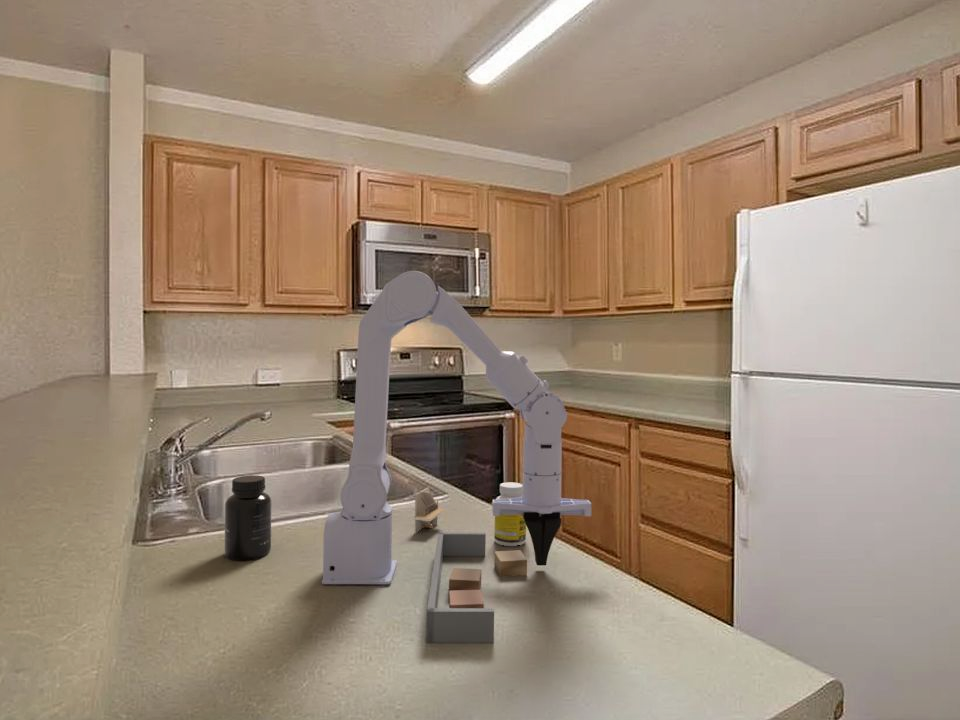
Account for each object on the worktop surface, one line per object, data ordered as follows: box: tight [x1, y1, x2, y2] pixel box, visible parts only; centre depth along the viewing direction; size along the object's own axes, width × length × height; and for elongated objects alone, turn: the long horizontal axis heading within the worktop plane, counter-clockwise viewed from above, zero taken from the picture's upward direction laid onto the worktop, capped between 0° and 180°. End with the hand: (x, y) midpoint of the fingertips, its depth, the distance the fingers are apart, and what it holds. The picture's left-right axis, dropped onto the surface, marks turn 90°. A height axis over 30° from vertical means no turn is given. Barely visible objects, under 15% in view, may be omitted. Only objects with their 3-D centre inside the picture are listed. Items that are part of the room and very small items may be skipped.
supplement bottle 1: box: [224, 474, 272, 562], centre depth 88 cm, size 7×7×12 cm
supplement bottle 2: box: [493, 481, 527, 547], centre depth 96 cm, size 5×5×10 cm
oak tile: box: [493, 549, 528, 578], centre depth 83 cm, size 4×4×2 cm
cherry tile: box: [448, 589, 485, 608], centre depth 69 cm, size 4×4×2 cm
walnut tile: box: [448, 567, 482, 592], centre depth 76 cm, size 4×4×2 cm
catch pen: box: [426, 532, 495, 644], centre depth 76 cm, size 8×27×4 cm, turn 2°
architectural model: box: [413, 487, 446, 534], centre depth 101 cm, size 3×7×7 cm, turn 161°
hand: (540, 563), depth 83 cm, fingers closed
